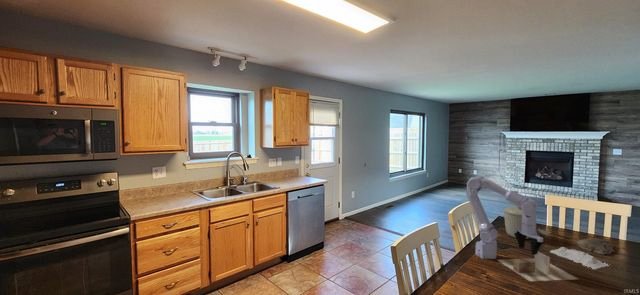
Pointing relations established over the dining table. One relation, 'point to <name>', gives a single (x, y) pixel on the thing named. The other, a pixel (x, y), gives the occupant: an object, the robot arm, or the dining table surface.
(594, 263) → the terrain model
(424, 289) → the dining table surface
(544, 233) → the cleaver
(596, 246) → the clay tablet
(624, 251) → the dining table surface
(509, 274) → the dining table surface
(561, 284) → the dining table surface
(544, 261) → the tile
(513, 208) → the canister
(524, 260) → the brown rectangular block
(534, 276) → the board
